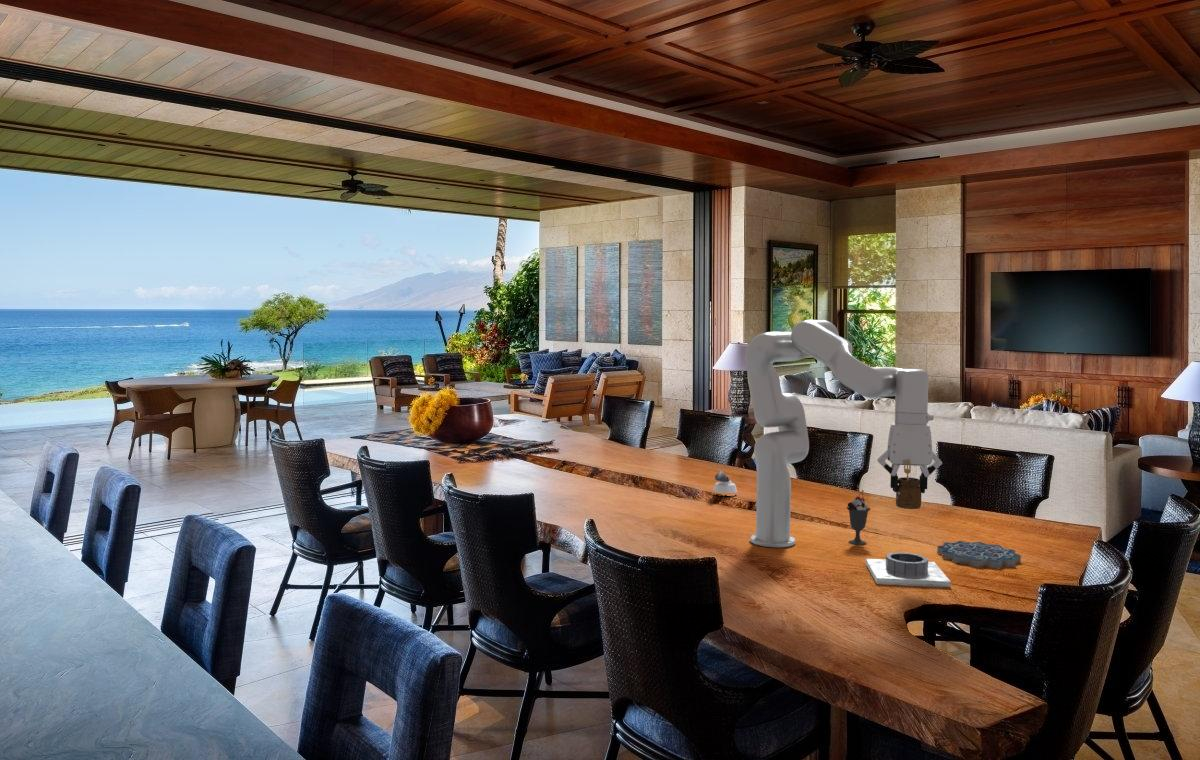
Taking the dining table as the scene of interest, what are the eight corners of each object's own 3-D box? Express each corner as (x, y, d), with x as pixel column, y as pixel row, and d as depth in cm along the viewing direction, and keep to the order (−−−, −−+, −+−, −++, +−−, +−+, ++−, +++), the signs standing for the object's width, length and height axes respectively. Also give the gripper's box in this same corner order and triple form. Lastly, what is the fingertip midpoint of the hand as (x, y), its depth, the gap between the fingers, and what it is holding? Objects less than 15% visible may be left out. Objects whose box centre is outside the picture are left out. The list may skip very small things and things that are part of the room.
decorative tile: (951, 545, 243) (951, 537, 243) (1027, 557, 230) (1027, 549, 230) (927, 560, 227) (928, 551, 227) (1008, 574, 215) (1008, 565, 214)
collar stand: (865, 564, 222) (866, 547, 221) (934, 567, 219) (934, 550, 219) (876, 583, 205) (877, 565, 204) (950, 587, 202) (951, 569, 202)
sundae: (869, 540, 245) (870, 489, 244) (869, 546, 239) (871, 494, 238) (845, 539, 247) (846, 488, 246) (845, 544, 241) (847, 492, 240)
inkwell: (739, 493, 313) (739, 466, 312) (732, 502, 296) (733, 474, 295) (714, 491, 316) (714, 464, 315) (706, 501, 298) (706, 473, 298)
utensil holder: (923, 506, 212) (924, 458, 211) (918, 510, 206) (919, 462, 206) (898, 503, 215) (899, 456, 214) (893, 508, 209) (894, 459, 209)
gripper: (943, 418, 212) (941, 490, 213) (872, 416, 214) (870, 487, 215) (951, 421, 204) (948, 496, 205) (877, 420, 207) (874, 493, 208)
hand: (908, 490), depth 210 cm, fingers closed on utensil holder, 5 cm apart
